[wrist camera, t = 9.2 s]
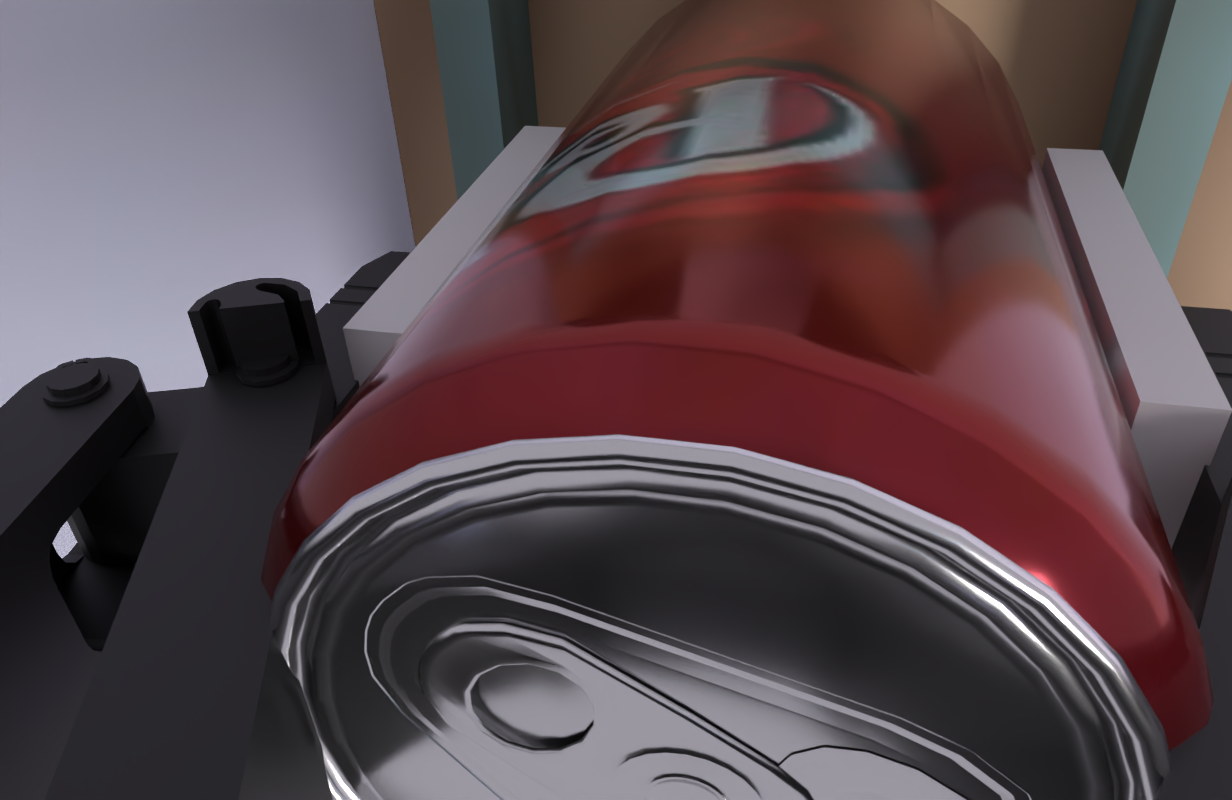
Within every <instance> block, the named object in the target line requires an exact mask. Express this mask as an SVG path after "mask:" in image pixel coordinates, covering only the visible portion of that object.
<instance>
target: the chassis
mask: <svg viewBox="0 0 1232 800" xmlns="http://www.w3.org/2000/svg"><path fill="white" fill-rule="evenodd" d="M684 1H685V0H374V6H375V12H376V18H377V24H378V30H379V35H380V41H381V47H382V53H383V59H384V65H385V71H386V76H387V82H388V88H389V94H390V100H391V106H392V111H393V117H394V123H395V129H396V135H397V141H398V147H399V152H400V158H401V164H402V170H403V176H404V182H405V188H406V193H407V199H408V205H409V211H410V217H411V223H412V228H413V234H414V240H415V246H417V245H418V244H419V243H420V242H421V241H422V240H423V239H424V237H425V236H426V235H427V234H428V233H429V232H430V231H431V230H432V229H433V227H434V226H435V225H436V224H437V223H438V222H439V221H440V220H441V219H442V217H443V216H444V215H445V214H446V213H447V212H448V211H449V210H450V209H451V207H452V206H453V205H454V204H455V203H456V202H457V201H458V200H459V199H460V197H461V196H462V195H463V194H464V193H465V192H466V191H467V190H468V189H469V187H470V186H471V185H472V184H473V183H474V182H475V181H476V180H477V179H478V177H479V176H480V175H481V174H482V173H483V172H484V171H485V170H486V169H487V168H488V166H489V165H490V164H491V163H492V162H493V161H494V160H495V159H496V158H497V156H498V155H499V154H500V153H501V152H502V151H503V150H504V149H505V148H506V146H507V145H508V144H509V143H510V142H511V141H512V140H513V139H514V138H515V136H516V135H517V134H518V133H519V132H520V131H521V130H522V129H523V128H524V126H542V127H565V128H567V126H568V125H569V124H570V123H571V121H572V120H573V119H574V118H575V116H576V115H577V114H578V113H579V111H580V110H581V109H582V108H583V106H584V105H585V104H586V103H587V101H588V100H589V99H590V98H591V96H592V95H593V94H594V93H595V91H596V90H597V89H598V88H599V86H600V85H601V84H602V82H603V81H604V80H605V79H606V77H607V76H608V75H609V74H610V72H611V71H612V70H613V69H614V67H615V66H616V65H617V64H618V62H619V61H620V60H621V59H622V57H623V56H624V55H625V54H626V52H627V51H628V50H629V49H630V48H631V47H632V46H633V45H634V44H635V43H636V42H637V41H638V40H639V39H640V38H641V37H642V35H643V34H644V33H645V32H646V31H647V30H648V29H649V28H650V27H651V26H652V25H653V24H654V23H655V22H656V21H657V20H658V19H659V18H661V17H662V16H664V15H665V14H666V13H668V12H669V11H671V10H672V9H674V8H675V7H676V6H678V5H679V4H681V3H682V2H684ZM935 1H937V2H938V3H939V4H941V5H942V6H943V7H944V8H946V9H947V10H948V11H950V12H951V13H952V14H954V15H955V16H956V17H958V18H959V19H960V20H961V21H963V22H964V23H965V24H967V25H968V26H969V27H970V28H971V30H972V31H973V32H974V33H975V34H976V36H977V37H978V38H979V39H980V40H981V42H982V43H983V44H984V45H985V47H986V48H987V49H988V50H989V51H990V53H991V54H992V55H993V56H994V57H995V59H996V60H997V61H998V62H999V64H1000V66H1001V68H1002V70H1003V72H1004V74H1005V76H1006V78H1007V80H1008V82H1009V84H1010V86H1011V89H1012V91H1013V93H1014V95H1015V97H1016V99H1017V101H1018V103H1019V105H1020V108H1021V111H1022V114H1023V117H1024V120H1025V123H1026V126H1027V129H1028V132H1029V135H1030V137H1031V140H1032V143H1033V146H1034V149H1035V152H1036V155H1037V158H1038V161H1039V164H1040V167H1041V170H1042V166H1043V162H1044V158H1045V153H1046V149H1047V148H1059V149H1082V150H1103V152H1104V154H1105V156H1106V158H1107V160H1108V162H1109V164H1110V166H1111V168H1112V170H1113V172H1114V174H1115V176H1116V178H1117V180H1118V182H1119V184H1120V186H1121V188H1122V190H1123V192H1124V194H1125V196H1126V198H1127V200H1128V202H1129V204H1130V206H1131V208H1132V210H1133V212H1134V214H1135V216H1136V218H1137V220H1138V222H1139V224H1140V226H1141V228H1142V230H1143V232H1144V234H1145V236H1146V238H1147V240H1148V242H1149V244H1150V246H1151V248H1152V250H1153V252H1154V254H1155V256H1156V258H1157V260H1158V262H1159V264H1160V266H1161V268H1162V270H1163V272H1164V274H1165V276H1166V278H1167V280H1168V282H1169V284H1170V286H1171V288H1172V290H1173V292H1174V294H1175V296H1176V298H1177V300H1178V302H1179V304H1180V306H1188V307H1202V308H1216V309H1229V310H1231V311H1232V0H935Z"/></svg>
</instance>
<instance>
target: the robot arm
mask: <svg viewBox="0 0 1232 800" xmlns="http://www.w3.org/2000/svg"><path fill="white" fill-rule="evenodd" d="M565 129H566V128H565V127H542V126H524V128H523V129H522V130H521V131H520V132H519V133H518V134H517V135H516V136H515V138H514V139H513V140H512V141H511V142H510V143H509V144H508V145H507V146H506V148H505V149H504V150H503V151H502V152H501V153H500V154H499V155H498V156H497V158H496V159H495V160H494V161H493V162H492V163H491V164H490V165H489V166H488V168H487V169H486V170H485V171H484V172H483V173H482V174H481V175H480V176H479V177H478V179H477V180H476V181H475V182H474V183H473V184H472V185H471V186H470V187H469V189H468V190H467V191H466V192H465V193H464V194H463V195H462V196H461V197H460V199H459V200H458V201H457V202H456V203H455V204H454V205H453V206H452V207H451V209H450V210H449V211H448V212H447V213H446V214H445V215H444V216H443V217H442V219H441V220H440V221H439V222H438V223H437V224H436V225H435V226H434V227H433V229H432V230H431V231H430V232H429V233H428V234H427V235H426V236H425V237H424V239H423V240H422V241H421V242H420V243H419V244H418V245H417V246H416V247H415V249H414V250H413V251H412V252H411V253H407V252H393V251H391V252H389V253H387V254H385V255H383V256H381V257H379V258H377V259H375V260H374V261H372V262H370V263H368V264H366V265H364V266H362V267H361V268H360V269H359V270H358V271H357V272H356V273H355V274H354V275H353V276H352V277H351V278H350V280H349V281H348V282H347V283H346V284H345V285H344V286H345V287H344V289H342V288H341V289H340V290H339V291H338V292H337V293H336V294H335V295H334V296H333V297H332V298H331V299H330V304H328V303H326V304H325V305H324V306H323V307H322V308H321V309H320V311H319V312H318V313H317V314H316V315H315V310H314V306H313V302H312V298H311V294H310V290H309V289H308V288H306V287H305V286H304V285H302V284H301V283H299V282H296V281H292V280H287V279H283V278H258V279H253V280H247V281H242V282H236V283H233V284H230V285H228V286H225V287H222V288H219V289H216V290H214V291H212V292H210V293H209V294H207V295H205V296H204V297H202V298H200V299H199V300H197V301H196V302H195V304H194V305H193V306H192V307H191V308H190V309H189V311H188V315H189V318H190V321H191V324H192V327H193V330H194V333H195V336H196V339H197V342H198V345H199V348H200V351H201V354H202V357H203V360H204V363H205V366H206V369H207V372H208V378H207V381H206V383H205V386H204V387H199V388H190V389H179V390H169V391H158V392H148V393H147V390H146V387H145V385H144V382H143V379H142V377H141V374H140V372H139V369H138V367H137V366H136V365H134V364H132V363H131V362H129V361H128V360H124V359H118V358H111V357H104V358H83V359H78V360H76V362H73V361H70V362H67V363H63V364H61V365H59V366H57V368H55V369H52V370H50V371H48V372H46V373H43V374H41V375H39V376H38V377H36V378H35V379H34V380H32V381H31V382H29V383H28V384H27V385H25V386H24V387H22V388H21V389H20V390H19V391H18V392H17V393H16V394H15V395H14V396H13V397H12V398H11V399H9V400H8V401H7V402H6V403H5V404H4V405H3V406H2V407H1V408H0V800H333V798H332V794H331V790H330V786H329V782H328V778H327V774H326V770H325V763H324V756H323V749H322V745H321V742H320V739H319V736H318V733H317V731H316V728H315V725H314V722H313V719H312V716H311V713H310V710H309V707H308V704H307V701H306V698H305V696H304V693H303V690H302V687H301V684H300V681H299V679H298V678H296V677H295V676H294V675H292V673H291V671H290V668H289V666H288V664H287V662H286V660H285V658H284V656H283V654H282V652H281V651H280V649H279V648H278V645H277V642H276V639H275V636H274V633H273V631H272V630H271V629H270V626H269V622H268V620H269V615H270V610H271V605H272V601H271V599H270V597H269V595H268V593H267V591H266V589H265V587H264V585H263V583H262V581H261V575H262V569H263V564H264V559H265V554H266V548H267V543H268V538H269V533H270V528H271V523H272V518H273V513H274V511H275V509H276V507H277V506H278V504H279V502H280V500H281V498H282V496H283V494H284V493H285V491H286V489H287V487H288V485H289V483H290V481H291V480H292V478H293V476H294V474H295V472H296V470H297V468H298V467H299V465H300V463H301V461H302V459H303V457H304V456H305V455H306V454H307V452H308V451H309V450H310V449H311V447H312V446H313V445H314V444H315V442H316V441H317V440H318V439H319V437H320V436H321V435H322V434H323V432H324V431H325V430H326V429H327V427H328V426H329V425H330V424H331V422H332V421H333V420H334V419H335V417H336V416H337V415H338V414H339V412H340V411H341V410H342V409H343V407H344V406H345V405H346V404H347V402H348V401H349V400H350V399H351V397H352V396H353V395H354V394H355V392H356V391H357V390H358V388H359V387H360V386H361V385H362V383H363V382H364V381H365V380H366V378H367V377H368V376H369V375H370V373H371V372H372V371H373V370H374V368H375V367H376V366H377V365H378V363H379V362H380V361H381V360H382V358H383V357H384V356H385V355H386V353H387V352H388V351H389V350H390V348H391V347H392V346H393V345H394V343H395V342H396V341H397V340H398V338H399V337H400V336H401V335H402V333H403V332H404V331H405V330H406V328H407V327H408V326H409V325H410V323H411V322H412V321H413V320H414V318H415V317H416V316H417V315H418V313H419V312H420V311H421V309H422V308H423V307H424V306H425V304H426V303H427V302H428V301H429V299H430V298H431V297H432V296H433V294H434V293H435V292H436V291H437V289H438V288H439V287H440V286H441V284H442V283H443V282H444V281H445V279H446V278H447V277H448V276H449V274H450V273H451V272H452V271H453V269H454V268H455V267H456V266H457V264H458V263H459V262H460V261H461V259H462V258H463V257H464V256H465V254H466V253H467V252H468V251H469V249H470V248H471V247H472V246H473V244H474V243H475V242H476V241H477V239H478V238H479V237H480V235H481V234H482V233H483V232H484V230H485V229H486V228H487V227H488V225H489V224H490V223H491V222H492V220H493V219H494V218H495V217H496V215H497V214H498V213H499V212H500V210H501V209H502V208H503V207H504V205H505V204H506V203H507V202H508V200H509V199H510V198H511V197H512V195H513V194H514V193H515V192H516V190H517V189H518V188H519V187H520V185H521V184H522V183H523V182H524V180H525V179H526V178H527V177H528V175H529V174H530V173H531V172H532V170H533V169H534V168H535V167H536V165H537V164H538V163H539V162H540V160H541V159H542V158H543V156H544V155H545V154H546V153H547V151H548V150H549V149H550V148H551V146H552V145H553V144H554V143H555V141H556V140H557V139H558V138H559V136H560V135H561V134H562V133H563V131H564V130H565ZM1042 173H1043V175H1044V178H1045V181H1046V184H1047V187H1048V190H1049V193H1050V196H1051V199H1052V202H1053V205H1054V208H1055V211H1056V214H1057V216H1058V219H1059V222H1060V225H1061V228H1062V231H1063V234H1064V237H1065V240H1066V243H1067V246H1068V249H1069V252H1070V255H1071V257H1072V260H1073V263H1074V266H1075V269H1076V272H1077V275H1078V278H1079V281H1080V284H1081V287H1082V290H1083V293H1084V296H1085V298H1086V301H1087V304H1088V307H1089V310H1090V313H1091V316H1092V319H1093V322H1094V325H1095V328H1096V331H1097V334H1098V337H1099V339H1100V342H1101V345H1102V348H1103V351H1104V354H1105V357H1106V360H1107V363H1108V366H1109V369H1110V372H1111V375H1112V378H1113V380H1114V383H1115V386H1116V389H1117V392H1118V395H1119V398H1120V401H1121V404H1122V407H1123V410H1124V413H1125V416H1126V419H1127V421H1128V424H1129V427H1130V430H1131V433H1132V436H1133V439H1134V442H1135V445H1136V448H1137V451H1138V454H1139V457H1140V460H1141V462H1142V465H1143V468H1144V471H1145V474H1146V477H1147V480H1148V483H1149V486H1150V489H1151V492H1152V495H1153V498H1154V500H1155V503H1156V506H1157V509H1158V512H1159V515H1160V518H1161V521H1162V524H1163V527H1164V530H1165V533H1166V536H1167V539H1168V541H1169V544H1170V547H1171V550H1172V553H1173V556H1174V559H1175V562H1176V565H1177V568H1178V571H1179V574H1180V577H1181V580H1182V582H1183V585H1184V588H1185V591H1186V594H1187V597H1188V600H1189V603H1190V606H1191V609H1192V612H1193V615H1194V618H1195V621H1196V623H1197V626H1198V629H1199V632H1200V635H1201V638H1202V641H1203V646H1204V651H1205V656H1206V661H1207V666H1208V671H1209V677H1210V682H1211V687H1212V692H1213V697H1214V702H1213V706H1212V710H1211V715H1210V719H1209V723H1208V725H1206V726H1205V727H1203V728H1202V729H1201V730H1199V731H1198V732H1196V733H1195V734H1194V735H1192V736H1191V737H1190V738H1188V739H1187V740H1185V741H1184V742H1183V743H1181V744H1180V745H1178V746H1177V747H1175V748H1173V749H1171V750H1170V756H1171V761H1172V765H1173V769H1172V770H1171V771H1170V772H1169V773H1168V774H1167V775H1166V776H1165V777H1164V779H1163V781H1162V783H1161V785H1160V787H1159V789H1158V791H1157V793H1156V795H1155V797H1154V799H1153V800H1232V311H1231V310H1229V309H1216V308H1202V307H1188V306H1180V304H1179V302H1178V300H1177V298H1176V296H1175V294H1174V292H1173V290H1172V288H1171V286H1170V284H1169V282H1168V280H1167V278H1166V276H1165V274H1164V272H1163V270H1162V268H1161V266H1160V264H1159V262H1158V260H1157V258H1156V256H1155V254H1154V252H1153V250H1152V248H1151V246H1150V244H1149V242H1148V240H1147V238H1146V236H1145V234H1144V232H1143V230H1142V228H1141V226H1140V224H1139V222H1138V220H1137V218H1136V216H1135V214H1134V212H1133V210H1132V208H1131V206H1130V204H1129V202H1128V200H1127V198H1126V196H1125V194H1124V192H1123V190H1122V188H1121V186H1120V184H1119V182H1118V180H1117V178H1116V176H1115V174H1114V172H1113V170H1112V168H1111V166H1110V164H1109V162H1108V160H1107V158H1106V156H1105V154H1104V152H1103V150H1082V149H1059V148H1047V149H1046V153H1045V158H1044V162H1043V166H1042ZM66 521H68V523H69V525H70V528H71V530H72V532H73V534H74V536H75V538H76V540H77V542H78V543H77V544H76V545H75V546H74V547H73V549H72V550H71V551H70V552H69V554H68V555H66V556H65V557H64V558H63V559H62V558H61V557H60V556H59V555H58V554H57V552H56V550H55V548H54V546H53V544H52V543H53V541H54V539H55V537H56V535H57V533H58V532H59V530H60V528H61V527H62V526H63V524H64V523H65V522H66Z"/></svg>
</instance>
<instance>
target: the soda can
mask: <svg viewBox="0 0 1232 800" xmlns="http://www.w3.org/2000/svg"><path fill="white" fill-rule="evenodd" d="M261 581H262V583H263V585H264V587H265V589H266V591H267V593H268V595H269V597H270V599H271V601H272V605H271V610H270V615H269V620H268V622H269V626H270V629H271V630H272V631H273V633H274V636H275V639H276V642H277V645H278V648H279V649H280V651H281V652H282V654H283V656H284V658H285V660H286V662H287V664H288V666H289V668H290V671H291V673H292V675H294V676H295V677H296V678H298V679H299V681H300V684H301V687H302V690H303V693H304V696H305V698H306V701H307V704H308V707H309V710H310V713H311V716H312V719H313V722H314V725H315V728H316V731H317V733H318V736H319V739H320V742H321V745H322V749H323V756H324V763H325V770H326V774H327V778H328V782H329V786H330V790H331V794H332V798H333V800H1153V799H1154V797H1155V795H1156V793H1157V791H1158V789H1159V787H1160V785H1161V783H1162V781H1163V779H1164V777H1165V776H1166V775H1167V774H1168V773H1169V772H1170V771H1171V770H1172V769H1173V765H1172V761H1171V756H1170V750H1171V749H1173V748H1175V747H1177V746H1178V745H1180V744H1181V743H1183V742H1184V741H1185V740H1187V739H1188V738H1190V737H1191V736H1192V735H1194V734H1195V733H1196V732H1198V731H1199V730H1201V729H1202V728H1203V727H1205V726H1206V725H1208V723H1209V719H1210V715H1211V710H1212V706H1213V702H1214V697H1213V692H1212V687H1211V682H1210V677H1209V671H1208V666H1207V661H1206V656H1205V651H1204V646H1203V641H1202V638H1201V635H1200V632H1199V629H1198V626H1197V623H1196V621H1195V618H1194V615H1193V612H1192V609H1191V606H1190V603H1189V600H1188V597H1187V594H1186V591H1185V588H1184V585H1183V582H1182V580H1181V577H1180V574H1179V571H1178V568H1177V565H1176V562H1175V559H1174V556H1173V553H1172V550H1171V547H1170V544H1169V541H1168V539H1167V536H1166V533H1165V530H1164V527H1163V524H1162V521H1161V518H1160V515H1159V512H1158V509H1157V506H1156V503H1155V500H1154V498H1153V495H1152V492H1151V489H1150V486H1149V483H1148V480H1147V477H1146V474H1145V471H1144V468H1143V465H1142V462H1141V460H1140V457H1139V454H1138V451H1137V448H1136V445H1135V442H1134V439H1133V436H1132V433H1131V430H1130V427H1129V424H1128V421H1127V419H1126V416H1125V413H1124V410H1123V407H1122V404H1121V401H1120V398H1119V395H1118V392H1117V389H1116V386H1115V383H1114V380H1113V378H1112V375H1111V372H1110V369H1109V366H1108V363H1107V360H1106V357H1105V354H1104V351H1103V348H1102V345H1101V342H1100V339H1099V337H1098V334H1097V331H1096V328H1095V325H1094V322H1093V319H1092V316H1091V313H1090V310H1089V307H1088V304H1087V301H1086V298H1085V296H1084V293H1083V290H1082V287H1081V284H1080V281H1079V278H1078V275H1077V272H1076V269H1075V266H1074V263H1073V260H1072V257H1071V255H1070V252H1069V249H1068V246H1067V243H1066V240H1065V237H1064V234H1063V231H1062V228H1061V225H1060V222H1059V219H1058V216H1057V214H1056V211H1055V208H1054V205H1053V202H1052V199H1051V196H1050V193H1049V190H1048V187H1047V184H1046V181H1045V178H1044V175H1043V173H1042V170H1041V167H1040V164H1039V161H1038V158H1037V155H1036V152H1035V149H1034V146H1033V143H1032V140H1031V137H1030V135H1029V132H1028V129H1027V126H1026V123H1025V120H1024V117H1023V114H1022V111H1021V108H1020V105H1019V103H1018V101H1017V99H1016V97H1015V95H1014V93H1013V91H1012V89H1011V86H1010V84H1009V82H1008V80H1007V78H1006V76H1005V74H1004V72H1003V70H1002V68H1001V66H1000V64H999V62H998V61H997V60H996V59H995V57H994V56H993V55H992V54H991V53H990V51H989V50H988V49H987V48H986V47H985V45H984V44H983V43H982V42H981V40H980V39H979V38H978V37H977V36H976V34H975V33H974V32H973V31H972V30H971V28H970V27H969V26H968V25H967V24H965V23H964V22H963V21H961V20H960V19H959V18H958V17H956V16H955V15H954V14H952V13H951V12H950V11H948V10H947V9H946V8H944V7H943V6H942V5H941V4H939V3H938V2H937V1H935V0H685V1H684V2H682V3H681V4H679V5H678V6H676V7H675V8H674V9H672V10H671V11H669V12H668V13H666V14H665V15H664V16H662V17H661V18H659V19H658V20H657V21H656V22H655V23H654V24H653V25H652V26H651V27H650V28H649V29H648V30H647V31H646V32H645V33H644V34H643V35H642V37H641V38H640V39H639V40H638V41H637V42H636V43H635V44H634V45H633V46H632V47H631V48H630V49H629V50H628V51H627V52H626V54H625V55H624V56H623V57H622V59H621V60H620V61H619V62H618V64H617V65H616V66H615V67H614V69H613V70H612V71H611V72H610V74H609V75H608V76H607V77H606V79H605V80H604V81H603V82H602V84H601V85H600V86H599V88H598V89H597V90H596V91H595V93H594V94H593V95H592V96H591V98H590V99H589V100H588V101H587V103H586V104H585V105H584V106H583V108H582V109H581V110H580V111H579V113H578V114H577V115H576V116H575V118H574V119H573V120H572V121H571V123H570V124H569V125H568V126H567V128H566V129H565V130H564V131H563V133H562V134H561V135H560V136H559V138H558V139H557V140H556V141H555V143H554V144H553V145H552V146H551V148H550V149H549V150H548V151H547V153H546V154H545V155H544V156H543V158H542V159H541V160H540V162H539V163H538V164H537V165H536V167H535V168H534V169H533V170H532V172H531V173H530V174H529V175H528V177H527V178H526V179H525V180H524V182H523V183H522V184H521V185H520V187H519V188H518V189H517V190H516V192H515V193H514V194H513V195H512V197H511V198H510V199H509V200H508V202H507V203H506V204H505V205H504V207H503V208H502V209H501V210H500V212H499V213H498V214H497V215H496V217H495V218H494V219H493V220H492V222H491V223H490V224H489V225H488V227H487V228H486V229H485V230H484V232H483V233H482V234H481V235H480V237H479V238H478V239H477V241H476V242H475V243H474V244H473V246H472V247H471V248H470V249H469V251H468V252H467V253H466V254H465V256H464V257H463V258H462V259H461V261H460V262H459V263H458V264H457V266H456V267H455V268H454V269H453V271H452V272H451V273H450V274H449V276H448V277H447V278H446V279H445V281H444V282H443V283H442V284H441V286H440V287H439V288H438V289H437V291H436V292H435V293H434V294H433V296H432V297H431V298H430V299H429V301H428V302H427V303H426V304H425V306H424V307H423V308H422V309H421V311H420V312H419V313H418V315H417V316H416V317H415V318H414V320H413V321H412V322H411V323H410V325H409V326H408V327H407V328H406V330H405V331H404V332H403V333H402V335H401V336H400V337H399V338H398V340H397V341H396V342H395V343H394V345H393V346H392V347H391V348H390V350H389V351H388V352H387V353H386V355H385V356H384V357H383V358H382V360H381V361H380V362H379V363H378V365H377V366H376V367H375V368H374V370H373V371H372V372H371V373H370V375H369V376H368V377H367V378H366V380H365V381H364V382H363V383H362V385H361V386H360V387H359V388H358V390H357V391H356V392H355V394H354V395H353V396H352V397H351V399H350V400H349V401H348V402H347V404H346V405H345V406H344V407H343V409H342V410H341V411H340V412H339V414H338V415H337V416H336V417H335V419H334V420H333V421H332V422H331V424H330V425H329V426H328V427H327V429H326V430H325V431H324V432H323V434H322V435H321V436H320V437H319V439H318V440H317V441H316V442H315V444H314V445H313V446H312V447H311V449H310V450H309V451H308V452H307V454H306V455H305V456H304V457H303V459H302V461H301V463H300V465H299V467H298V468H297V470H296V472H295V474H294V476H293V478H292V480H291V481H290V483H289V485H288V487H287V489H286V491H285V493H284V494H283V496H282V498H281V500H280V502H279V504H278V506H277V507H276V509H275V511H274V513H273V518H272V523H271V528H270V533H269V538H268V543H267V548H266V554H265V559H264V564H263V569H262V575H261Z"/></svg>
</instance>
